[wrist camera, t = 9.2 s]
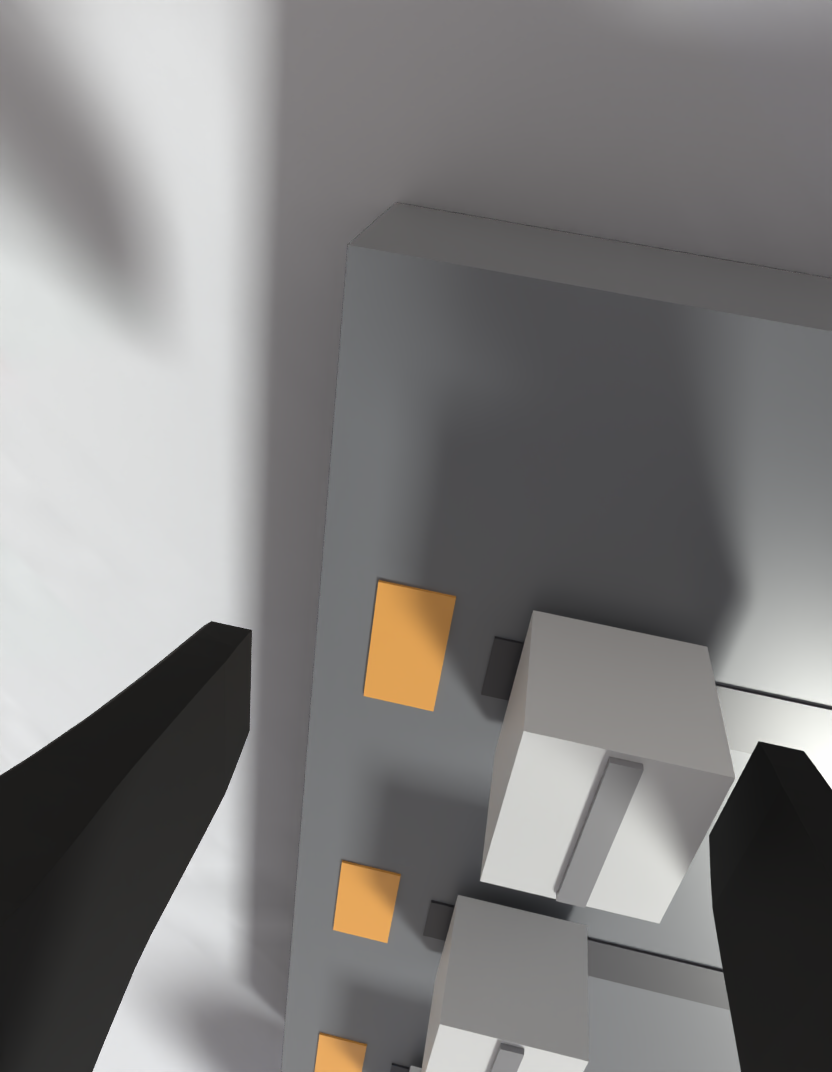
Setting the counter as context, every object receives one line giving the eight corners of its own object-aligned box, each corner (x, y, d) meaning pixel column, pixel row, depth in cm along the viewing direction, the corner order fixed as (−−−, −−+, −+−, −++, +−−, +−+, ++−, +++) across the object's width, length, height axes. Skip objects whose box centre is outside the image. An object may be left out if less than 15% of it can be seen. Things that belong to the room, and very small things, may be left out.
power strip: (1154, 334, 11) (1323, 420, 9) (597, 1184, 28) (599, 1298, 26) (395, 203, 12) (346, 245, 10) (297, 1105, 29) (269, 1208, 26)
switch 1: (587, 925, 15) (588, 1068, 13) (552, 1005, 17) (548, 1144, 15) (457, 895, 15) (438, 1030, 13) (435, 977, 17) (415, 1109, 15)
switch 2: (707, 647, 11) (737, 784, 9) (646, 786, 13) (660, 930, 11) (533, 610, 11) (523, 737, 9) (495, 752, 13) (478, 887, 11)
